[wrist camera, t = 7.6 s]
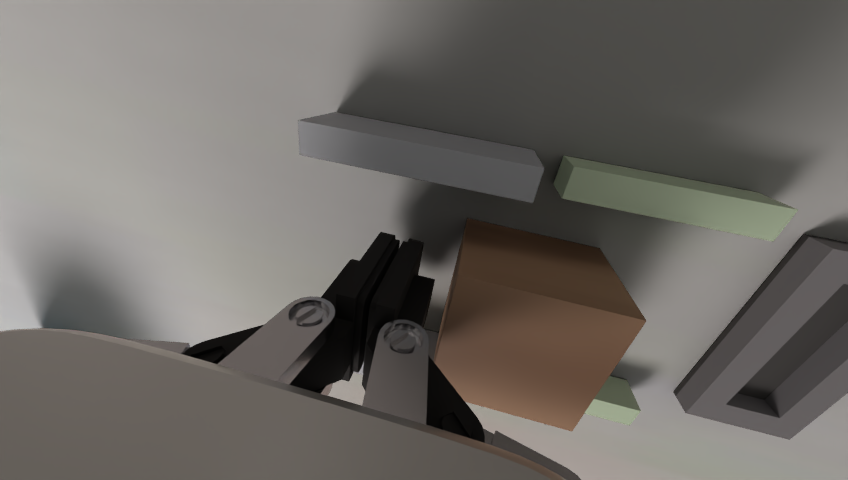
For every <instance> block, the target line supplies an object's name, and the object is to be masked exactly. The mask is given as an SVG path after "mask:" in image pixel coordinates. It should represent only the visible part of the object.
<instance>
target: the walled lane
mask: <svg viewBox="0 0 848 480" xmlns="http://www.w3.org/2000/svg"><path fill="white" fill-rule="evenodd" d="M298 130H299V155H302V156H307V157H312V158H317V159H321V160H326V161H331V162H336V163H341V164H346V165H350V166H355V167H360V168H365V169H370V170H375V171H380V172H384V173H389V174H394V175H399V176H404V177H409V178H413V179H418V180H423V181H428V182H433V183H438V184H443V185H447V186H452V187H457V188H462V189H467V190H472V191H476V192H481V193H486V194H491V195H496V196H501V197H506V198H510V199H515V200H520V201H525V202H530V203H533V201H534V198H535V195H536V192H537V189H538V186H539V183H540V180H541V177H542V174H543V171H544V169H545V168H544V167H543V165H542V163H541V162H540V160H539V158H538V157H537V155H536V153H535V152H534V150H532V149H527V148H522V147H516V146H511V145H506V144H501V143H495V142H490V141H485V140H480V139H474V138H469V137H464V136H459V135H453V134H448V133H443V132H438V131H432V130H427V129H422V128H417V127H411V126H406V125H401V124H396V123H390V122H385V121H380V120H375V119H369V118H364V117H359V116H354V115H348V114H343V113H338V112H334V113H329V114H325V115H320V116H315V117H311V118H306V119H301V120H298ZM424 330H425V329H424ZM425 331H426V333H427V335H428V339H429V356H430V358H431V359H432V360H433V361H434V356H435V351H436V346H437V341H438V336H439V333H437V332H433V331H429V330H425ZM363 366H364V363H363V365H362V367H361V369H360V371H359V372H358V374H361V375H363ZM354 373H357V372H354Z"/></svg>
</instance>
